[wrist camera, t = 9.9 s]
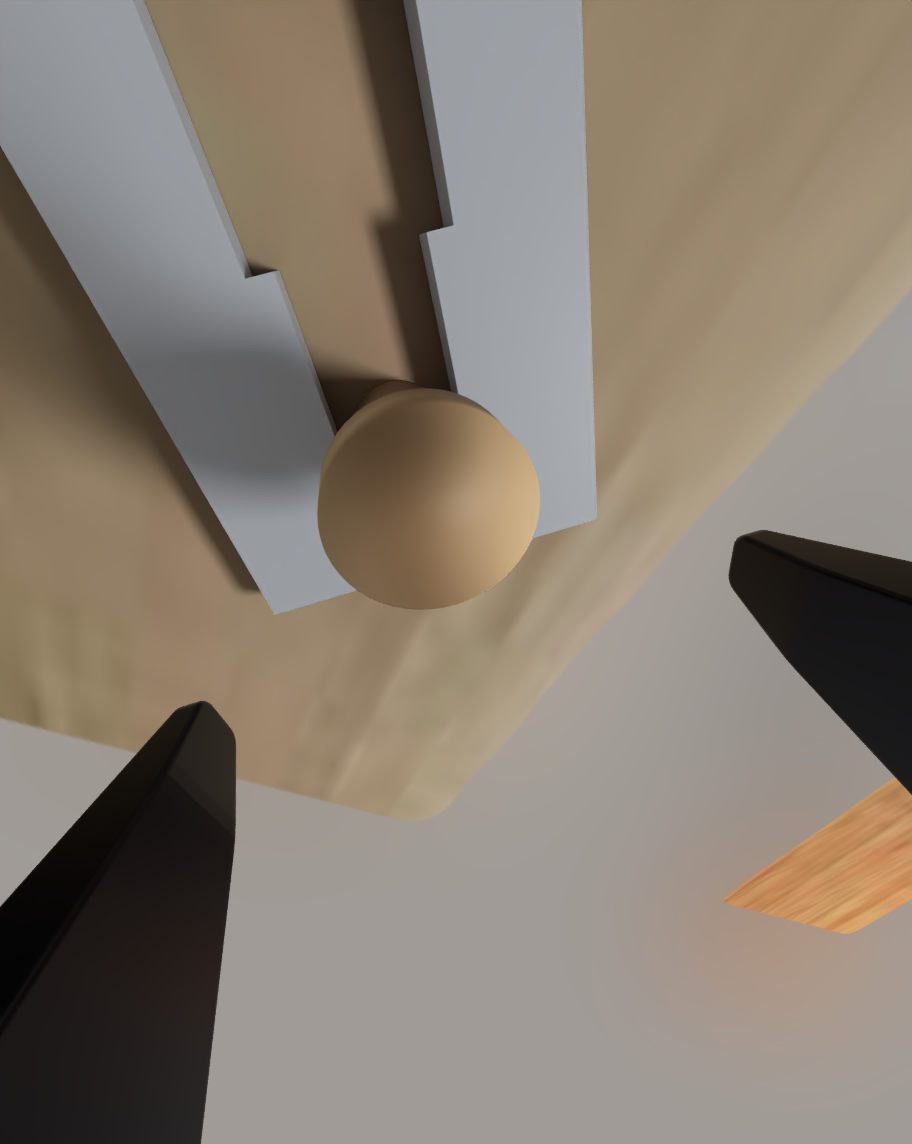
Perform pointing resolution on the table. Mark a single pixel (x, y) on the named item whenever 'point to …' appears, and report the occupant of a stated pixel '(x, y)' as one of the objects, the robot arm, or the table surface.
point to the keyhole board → (261, 304)
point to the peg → (425, 498)
